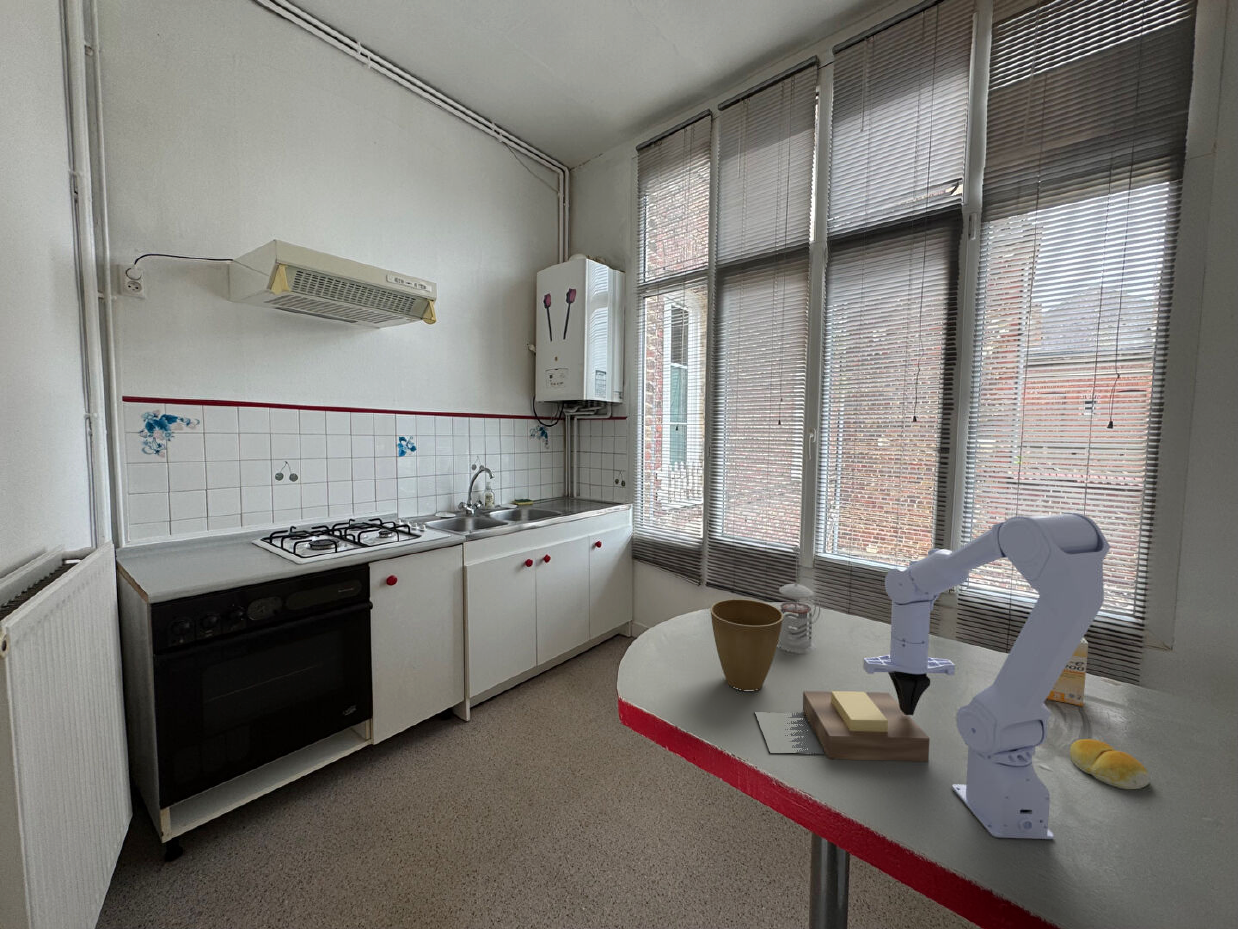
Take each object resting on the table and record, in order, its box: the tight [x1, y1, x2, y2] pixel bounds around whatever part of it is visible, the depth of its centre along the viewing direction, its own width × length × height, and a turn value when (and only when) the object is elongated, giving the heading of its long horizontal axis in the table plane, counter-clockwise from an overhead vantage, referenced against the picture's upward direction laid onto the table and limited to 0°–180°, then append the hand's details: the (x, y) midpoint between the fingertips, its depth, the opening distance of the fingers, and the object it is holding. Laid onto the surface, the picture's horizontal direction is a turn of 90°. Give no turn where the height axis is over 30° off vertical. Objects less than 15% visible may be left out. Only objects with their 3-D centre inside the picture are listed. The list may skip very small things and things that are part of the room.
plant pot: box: [710, 598, 784, 690], centre depth 107 cm, size 15×15×16 cm
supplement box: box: [1046, 637, 1089, 707], centre depth 101 cm, size 8×5×13 cm, turn 62°
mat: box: [785, 711, 825, 755], centre depth 91 cm, size 12×9×1 cm
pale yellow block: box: [830, 690, 888, 732], centre depth 89 cm, size 9×6×2 cm, turn 177°
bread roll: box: [1069, 738, 1151, 790], centre depth 80 cm, size 8×9×4 cm
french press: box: [778, 546, 821, 654], centre depth 126 cm, size 10×12×25 cm
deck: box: [802, 690, 930, 762], centre depth 90 cm, size 14×16×4 cm
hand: (906, 712), depth 89 cm, fingers closed
